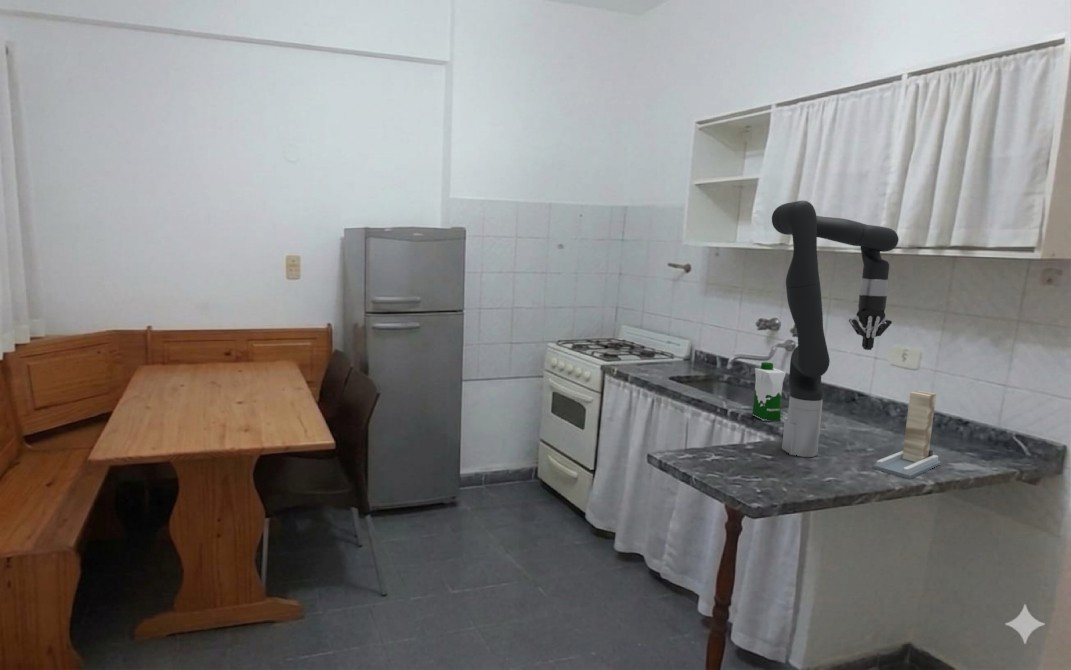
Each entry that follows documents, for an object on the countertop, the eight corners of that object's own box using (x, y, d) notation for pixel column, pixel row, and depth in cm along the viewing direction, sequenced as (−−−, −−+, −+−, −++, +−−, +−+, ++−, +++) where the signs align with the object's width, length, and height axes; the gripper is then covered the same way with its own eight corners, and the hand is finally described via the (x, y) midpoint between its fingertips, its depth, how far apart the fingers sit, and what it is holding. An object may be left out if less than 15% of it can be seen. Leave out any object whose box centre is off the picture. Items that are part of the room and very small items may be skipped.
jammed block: (920, 463, 188) (928, 395, 185) (902, 458, 192) (910, 392, 189) (927, 460, 191) (936, 393, 188) (909, 455, 195) (917, 390, 192)
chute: (909, 479, 178) (911, 465, 178) (872, 468, 186) (874, 454, 186) (940, 464, 191) (942, 451, 191) (904, 455, 199) (906, 442, 198)
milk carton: (769, 414, 242) (773, 361, 239) (784, 421, 233) (789, 366, 230) (748, 415, 239) (752, 362, 236) (763, 422, 231) (768, 367, 228)
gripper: (886, 293, 205) (880, 348, 207) (845, 292, 204) (840, 347, 206) (901, 295, 197) (894, 352, 200) (859, 294, 196) (853, 351, 199)
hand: (867, 349), depth 203 cm, fingers closed
